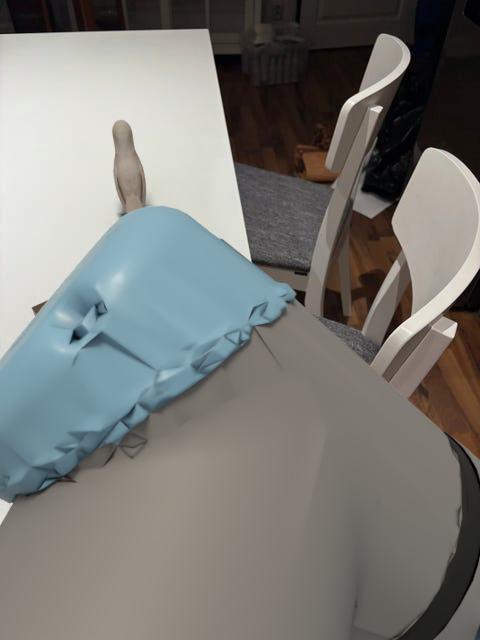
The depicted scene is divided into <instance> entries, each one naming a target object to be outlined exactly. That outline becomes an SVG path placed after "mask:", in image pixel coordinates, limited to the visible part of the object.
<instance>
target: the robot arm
mask: <svg viewBox="0 0 480 640" xmlns="http://www.w3.org/2000/svg"><path fill="white" fill-rule="evenodd" d="M124 214H125V215H122V216H121V217H120V218H119V219H118V220H116V221H115V222H114V224H112V225H111V226H110V227H109V228H108V229H107V230H106V231H105V232H104V234H102V236H101V237H100V239H99V240H97V242H96V243H95V244H94V245H93V246H92V247H91V248H90V250H89V251H88V252H87V253H86V254H85V256H84V257H83V258H82V259H81V260H80V261H79V263H78V264H77V265H76V266H75V267H74V268H73V270H72V271H71V272H70V273H69V274H68V276H67V277H66V278H65V279H64V281H62V283H61V284H60V285H59V287H58V288H57V289H56V290H55V291H54V292H53V294H52V295H51V296H50V297H49V299H47V300H48V301H47V300H46V301H47V302H46V303H45V305H44V306H43V307H42V308H41V310H40V311H39V312H38V313H37V314H36V316H35V315H34V317H32V319H31V320H30V322H29V323H28V324H27V325H26V327H25V328H24V329H23V330H22V332H21V333H20V334H19V335H18V337H16V339H15V340H14V341H13V343H12V344H11V345H10V347H9V348H8V349H7V350H6V352H5V353H4V355H3V356H2V357H1V358H0V500H2V501H4V502H6V503H8V504H11V506H10V507H9V509H8V511H7V513H6V514H5V516H4V517H3V519H2V521H1V523H0V640H480V459H479V458H478V457H477V456H476V455H475V454H474V453H473V452H472V451H470V450H469V449H468V448H467V447H466V446H465V445H464V444H463V443H462V442H460V441H459V439H456V438H455V437H454V436H452V435H450V434H449V433H448V432H446V431H445V430H443V429H441V428H440V427H439V426H438V425H437V424H436V423H434V422H433V421H432V420H431V419H430V418H429V417H428V416H427V415H426V414H425V413H423V412H422V411H421V410H420V409H419V408H418V407H416V405H414V404H413V403H412V402H411V401H410V400H409V399H407V397H406V396H404V395H403V393H401V392H400V391H399V390H398V389H397V388H395V387H394V385H392V384H391V383H390V382H388V381H387V379H385V378H384V377H383V376H382V375H381V374H380V373H379V372H378V371H376V370H375V369H374V368H373V367H372V366H371V365H370V364H369V363H367V362H366V361H365V360H364V359H363V357H361V356H360V355H358V354H357V353H356V352H355V351H354V350H353V349H352V348H351V347H350V346H349V345H347V344H346V343H345V342H344V341H343V340H342V339H341V338H340V337H338V336H337V335H336V334H335V333H334V332H333V331H331V329H329V328H328V327H327V326H326V325H325V324H324V323H323V322H322V321H321V320H319V319H318V318H317V317H316V316H315V315H313V313H311V311H310V310H308V309H307V308H306V307H305V306H304V305H303V304H302V303H301V302H299V301H298V299H297V298H296V296H297V292H296V291H295V290H294V289H293V288H292V287H291V286H290V285H289V283H286V282H278V281H275V279H273V278H272V277H271V276H270V275H268V274H267V273H266V272H265V271H263V270H262V269H261V268H259V267H258V266H257V265H256V264H255V263H253V261H251V260H249V259H248V258H247V257H246V256H245V255H243V254H242V253H241V252H240V251H238V250H237V249H236V248H234V247H233V246H232V245H231V244H229V243H228V242H227V241H226V240H224V239H223V238H220V237H218V236H216V235H215V234H214V233H212V232H211V231H210V230H209V229H207V228H206V227H205V226H204V225H202V224H201V223H200V222H198V221H197V220H196V219H194V218H193V217H192V216H190V215H189V214H188V213H186V212H184V211H182V210H180V209H178V208H175V207H170V206H166V205H149V206H148V205H145V207H143V208H140V209H137V210H133V211H131V212H129V213H124Z"/></svg>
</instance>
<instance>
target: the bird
mask: <svg viewBox="0 0 480 640" xmlns="http://www.w3.org/2000/svg"><path fill="white" fill-rule="evenodd" d="M111 129H112V130H111V132H112V133H111V135H112V140H113V145H114V157H113V158H114V159H113V170H112V172H113V180H114V186H115V191H116V193H117V197H118V198H119V201H120V204H121V207H122V209H123V211H124V212H125V213H122V216H124V215H125V214H127V213H129V212H131V211H133V210H137V209H140V208H143V207H146V200H147V199H146V198H147V182H146V174H145V171H144V167H143V164H142V161H141V159H140V157H139V155H138V153H137V151H136V147H135V142H134V141H135V140H134V135H133V130H132V127H131V125H130V124H129V122H128V121H126V120H125V119H118V120H116V121H115V122H114V123H113V126H112V128H111Z"/></svg>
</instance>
